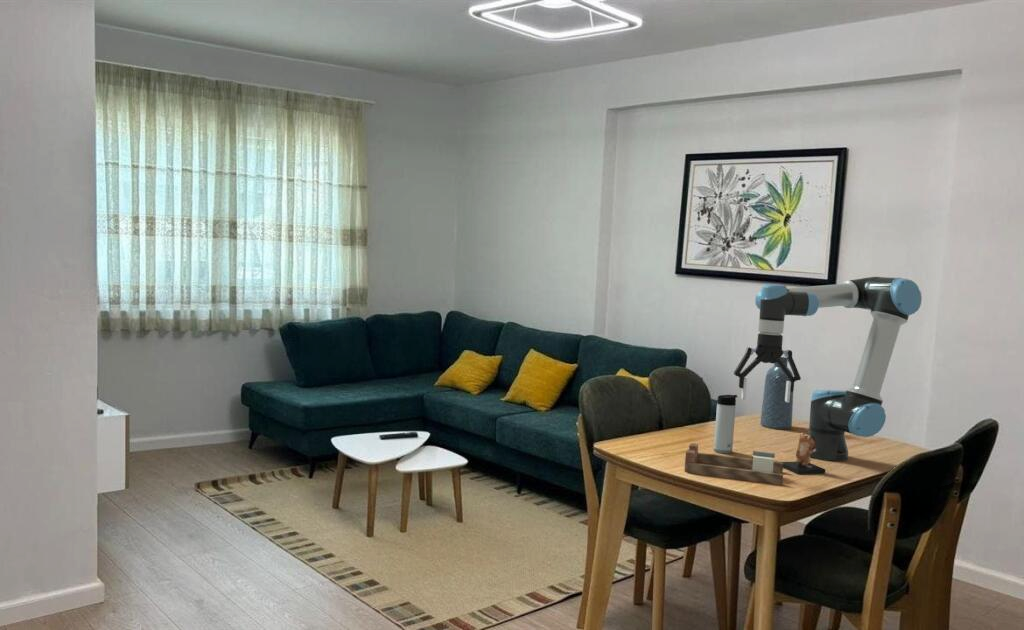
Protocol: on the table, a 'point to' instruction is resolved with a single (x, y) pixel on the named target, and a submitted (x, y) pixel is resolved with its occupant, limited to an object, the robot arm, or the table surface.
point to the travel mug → (725, 424)
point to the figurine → (804, 458)
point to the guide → (728, 472)
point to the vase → (776, 399)
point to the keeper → (763, 461)
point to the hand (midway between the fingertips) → (765, 400)
